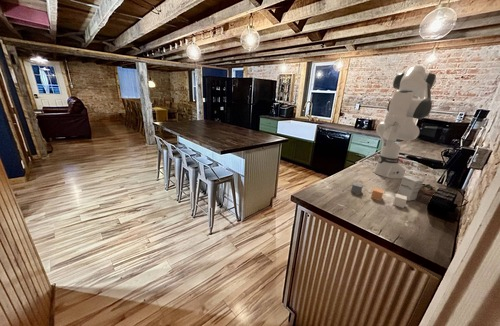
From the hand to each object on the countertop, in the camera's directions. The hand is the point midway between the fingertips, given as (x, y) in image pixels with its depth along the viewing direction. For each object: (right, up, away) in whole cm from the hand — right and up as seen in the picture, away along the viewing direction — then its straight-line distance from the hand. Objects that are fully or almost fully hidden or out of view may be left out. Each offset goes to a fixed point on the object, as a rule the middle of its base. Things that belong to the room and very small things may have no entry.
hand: (385, 147), depth 110 cm
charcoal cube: (-9, -26, +15) cm, 31 cm away
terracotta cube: (0, -29, +9) cm, 30 cm away
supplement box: (+20, -29, +11) cm, 37 cm away
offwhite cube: (+9, -32, +3) cm, 33 cm away
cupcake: (+28, -30, +9) cm, 42 cm away
